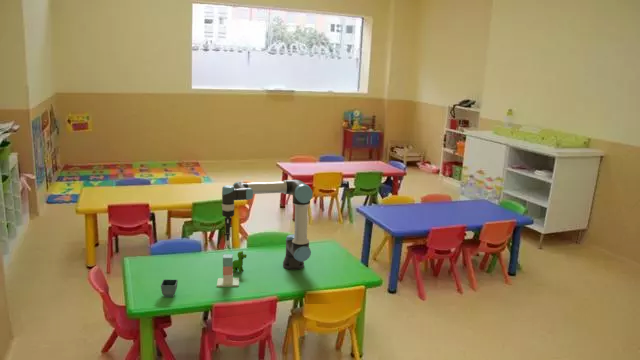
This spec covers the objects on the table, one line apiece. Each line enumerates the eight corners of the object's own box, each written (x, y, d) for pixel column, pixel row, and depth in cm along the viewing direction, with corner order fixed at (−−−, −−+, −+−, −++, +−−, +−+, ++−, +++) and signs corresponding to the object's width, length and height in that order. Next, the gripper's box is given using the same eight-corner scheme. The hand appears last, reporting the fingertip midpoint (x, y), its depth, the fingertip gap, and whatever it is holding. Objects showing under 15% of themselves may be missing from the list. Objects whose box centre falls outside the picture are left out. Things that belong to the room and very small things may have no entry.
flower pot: (175, 299, 328) (175, 285, 326) (160, 299, 327) (160, 285, 325) (178, 292, 336) (177, 279, 334) (163, 292, 336) (163, 279, 333)
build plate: (239, 279, 359) (239, 269, 357) (238, 286, 348) (238, 276, 346) (217, 279, 357) (217, 269, 355) (216, 286, 346) (216, 276, 345)
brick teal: (232, 262, 352) (232, 254, 351) (232, 266, 347) (232, 257, 345) (223, 262, 352) (223, 254, 350) (222, 266, 346) (222, 257, 344)
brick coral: (232, 271, 354) (232, 262, 352) (232, 275, 348) (232, 266, 347) (223, 271, 353) (223, 262, 352) (222, 275, 347) (222, 266, 346)
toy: (244, 274, 367) (245, 253, 363) (225, 271, 370) (225, 251, 366) (247, 270, 373) (247, 250, 369) (228, 268, 375) (228, 248, 372)
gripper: (223, 203, 354) (223, 234, 359) (221, 215, 330) (221, 248, 335) (234, 203, 355) (234, 234, 360) (233, 215, 331) (233, 247, 336)
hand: (228, 240), depth 347 cm, fingers open, 13 cm apart
